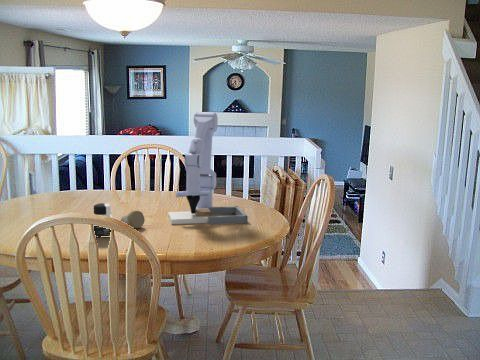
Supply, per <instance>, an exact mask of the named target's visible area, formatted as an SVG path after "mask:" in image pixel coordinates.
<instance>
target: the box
mask: <svg viewBox="0 0 480 360" xmlns="http://www.w3.org/2000/svg"><path fill="white" fill-rule="evenodd" d="M202 208H208V209H209V210H210V211H211V216H207V218H208V223H207V224H208V225H227V224H247V223H248V218H249V216H248V215H247V214H246V213H245V211H244V210H243V209H241V208H240V207H239V206H238V205H235V206H233V205H232V206H231V205H230V206H229V205H228V206H213V207H202ZM232 213H236V214H235V215H233V214H232ZM212 215H213V216H212Z"/></svg>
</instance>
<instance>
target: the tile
mask: <svg viewBox="0 0 480 360" xmlns="http://www.w3.org/2000/svg"><path fill="white" fill-rule="evenodd" d="M195 215H196V217H200V216H207V217H208V216H212V214H211V211H210V210H209V209H208V208H196V210H195Z"/></svg>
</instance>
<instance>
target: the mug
mask: <svg viewBox="0 0 480 360" xmlns="http://www.w3.org/2000/svg"><path fill="white" fill-rule="evenodd" d="M145 220H146V219H145V216H144V213H143V212H142V211H140V210H133V211H130V212H129V213H128V214H126V215H124V216H122V217H120V222H121V221H123V222H125V223H127V224H128V225H130V226H132V227H134V228H135V230H137V229H140V228H142V227H143V226H144V224H145ZM134 228H133V229H134Z"/></svg>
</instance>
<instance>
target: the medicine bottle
mask: <svg viewBox="0 0 480 360" xmlns="http://www.w3.org/2000/svg"><path fill="white" fill-rule="evenodd" d="M111 209H112V208H111V205H110V204H109V203H106V202H103V203H101V202H100V203H96V204H94V205H93V215H94V214H95V215H102V216H107V217H111V218H112V219H113V214H111V213H112V212H111ZM94 231H95V235H96V237H97V236H98V237H101V236H110V232H111V230H110V229H106V228H103V227H99V226H94Z"/></svg>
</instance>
